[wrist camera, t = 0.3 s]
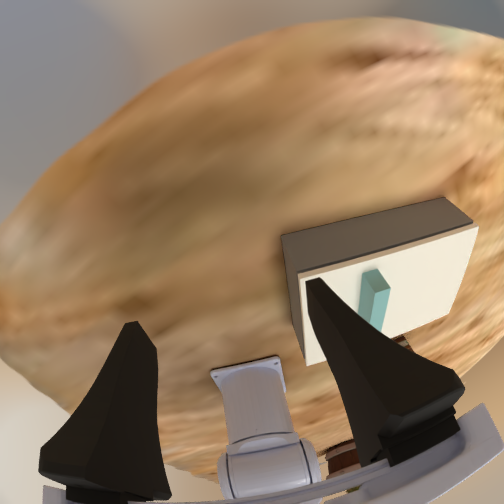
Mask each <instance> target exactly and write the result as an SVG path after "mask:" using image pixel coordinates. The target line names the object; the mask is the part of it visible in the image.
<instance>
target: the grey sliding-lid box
mask: <svg viewBox="0 0 504 504" xmlns="http://www.w3.org/2000/svg"><path fill="white" fill-rule="evenodd" d="M470 224H473V220H472V219H471V218H469V217H468V216H467V215H466V214H465V213H463V212H462V211H461V210H460V209H459V208H457V207H456V206H455V205H454V204H453V203H451V202H450V201H449V200H448V199H446V198H445V197H443V198H439V199H435V200H430V201H426V202H421V203H417V204H413V205H408V206H404V207H400V208H395V209H391V210H387V211H382V212H378V213H374V214H370V215H365V216H361V217H357V218H352V219H348V220H344V221H340V222H336V223H331V224H327V225H323V226H319V227H315V228H310V229H306V230H302V231H298V232H294V233H289V234H285V235H281V240H282V247H283V254H284V261H285V268H286V275H287V283H288V290H289V298H290V305H291V313H292V321H293V327H294V330H295V333H296V336H297V339H298V342H299V345H300V348H301V351H302V354H303V356H304V359H305V351H304V338H303V326H302V314H301V303H300V293H299V282H298V274H300V273H304V272H307V271H311V270H315V269H319V268H323V267H326V266H330V265H334V264H338V263H341V262H345V261H349V260H352V259H356V258H359V257H363V256H367V255H370V254H374V253H377V252H381V251H384V250H388V249H391V248H395V247H398V246H401V245H405V244H408V243H412V242H415V241H418V240H422V239H425V238H428V237H432V236H435V235H438V234H442V233H445V232H448V231H451V230H454V229H458V228H461V227H464V226H467V225H470Z"/></svg>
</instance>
